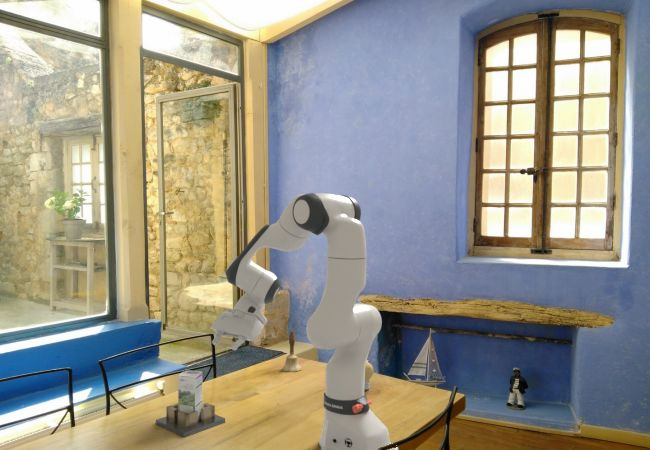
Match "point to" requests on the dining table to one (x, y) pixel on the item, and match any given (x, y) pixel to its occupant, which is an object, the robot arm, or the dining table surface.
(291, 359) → the hand bell
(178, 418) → the metal jaw fixture
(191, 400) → the syrup box
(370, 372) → the light bulb
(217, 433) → the dining table surface
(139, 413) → the dining table surface
